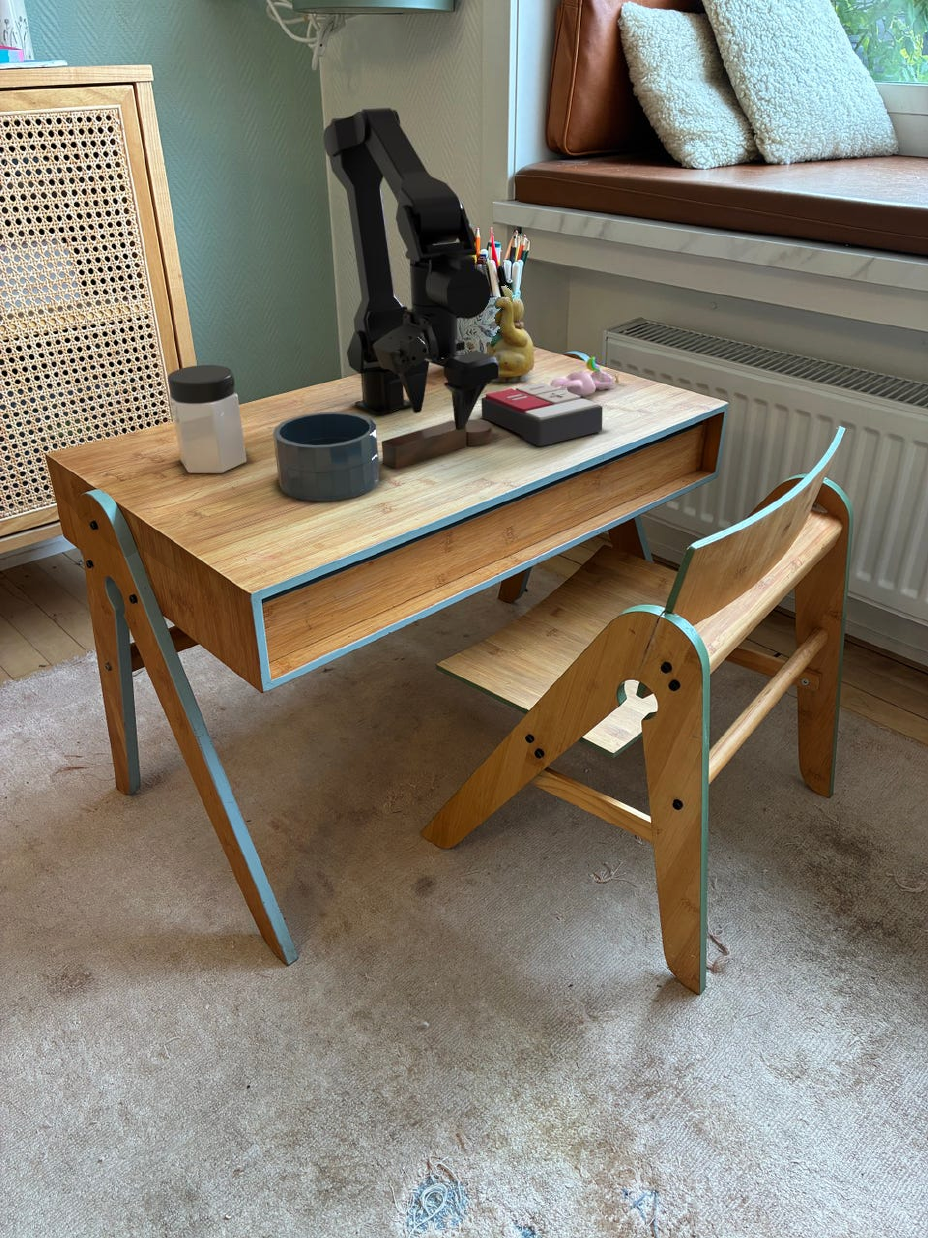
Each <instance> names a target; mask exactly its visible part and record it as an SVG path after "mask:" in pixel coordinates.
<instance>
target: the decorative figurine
mask: <svg viewBox="0 0 928 1238" xmlns="http://www.w3.org/2000/svg"><path fill="white" fill-rule="evenodd" d="M506 286H507V285H505V286H501V289H502V292H503V295H504V297H498V298H497V299H496V300H495V302H494V306H495V308H496V309H498V308H501V309H500V310H499V311H498V312H497V313H496V314H495V317H494V319H495V323H496V324H497V326H499V327H500V329H498V330H497V334H496V335H495V336H493V339H492V341H491V346H489V345H488V347H487V353H486V354H488V355H491V356H494V357H495V358H496V359H497V361H498V362H499V378H498V379H494V380H492V383H517V382H518V383H522V382H523V380H522V376H524V375H527V374H529V373H530V371H532V370H533V369H534V366H535V347H534V343H533V340H532V338H531V336H530V335H529V334H528V332H527V331H526V330H525V329H524V323H523V322H522V321H521V320H522V319H523V316H524V311H525V309H524V308H525V307H524V306H525V305H524V303H523V301H522V299H521V298H520V297H519V296H518V297H519V303H518V297H517V298H516V299H515V300H514V301H513V297H512V296H513V294H514V292H513V290H512V289H511V288H510V287H509V288H510V289H511V290H510V289H509V288H507V287H508V286H507V287H506ZM506 297H509V298H510V299H508V298H506Z"/></svg>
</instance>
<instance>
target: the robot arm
mask: <svg viewBox="0 0 928 1238" xmlns="http://www.w3.org/2000/svg"><path fill="white" fill-rule="evenodd" d="M323 146H324V150H325V153H326V155H327V156H328V158H329V163H330V168H331V171H332V173H333V174H334V176H335V177H336V178H337V180H338V181H339V183H340V184H341V185H342V187H343V188H344V189H345V191H346V196H347V202H348V203H347V204H348V211H349V219H350V225H351V231H352V232H351V233H352V239H353V246H354V254H355V261H356V267H357V275H358V282H359V288H360V296H361V299H360V303H359V305H358V308H357V310H356V312H355V315H354V317H353V328H354V330H353V334H352V337H351V339H350V342H349V344H348V348H347V350H346V355H347V361H348V367H350V368H351V369H352V370H354V371H355V372H356V373H357V374H359V375H360V379H361V380H360V381H361V392H362V393H361V394H362V399H360V400H357V401H355V402H354V406H355V407H357V408H359V409H362V410H364V411H366V412H369V413H371V414H373V415H376V416H382V415H385V414H389V413H392V412H396V411H400V410H403V409H407V408H410V407H411V409H412V413H414V414H418V413H421V412H422V409H423V406H424V405H423V404H424V401H425V395H426V394H425V393H426V387H427V380H428V373H429V367H430V364H433V365H436V366H438V367H442V368H443V375H444V378H445V379H446V381H447V382H443V385H444V387H445V388H446V389H447V390H448V391H449V392H450V394H451V396H452V397H451V398H452V408H453V421H455V426H456V430H462V429H464V428H465V426H466V423H467V421H468V420H470V417H471V415H472V413H473V410H474V408H475V406H476V404H477V402H478V400H479V398H480V396H481V394H482V393H483V391H484V390H485V388H486V386H487V385H489V384H492V383H493V380H494V379H498V378H499V362H498V361H497V359H496V358H495V357H494V356H491V355H488V354H485V352H481V351H479V350H474V351H470V352H465V353H462V354H458V352H460V351H464V350H465V349H466V347H465V345H466V344H465V341H464V340H461V339H458V338H459V336H458V333H459V332H458V319H464V320H470V319H474V318H477V317H478V316H480V315H481V314H483V311H484V310H485V308H486V307H487V305H488V303H489V300H490V296H491V295H492V286H491V285H490V282H489V279H488V278H487V276H486V275H485V273H484V272H482V270H480V269H478V268H476V257H475V256H477V254H478V251H477V246H476V242H477V238H476V235H475V233H474V230H473V228H472V225H471V223H470V220H469V217H468V216H467V213H466V210H465V207H464V204H463V203H462V202H461V200H460V198H459V196H458V195H457V194H456V192H455V191H454V190H453V189H452V188H451V187H450V186H449V184H448V183H447V182H445V181H442V180H441V179H437V178H436V177H433V176H432V175H431V174H430V172H428V170H427V168H426V166H425V164H424V163H423V161H422V159H421V158H420V156H419V155H418V153H417V151H416V150H415V148H414V146H413V144H412V143H411V141H410V139H409V138H408V136H407V134H406V133H405V131H404V129H403V128H402V126H401V120H400V115H399V113H398V111H397V110H396V109H392V108H391V107H380V108H379V107H378V108H362V109H361V110H360V111H357V112H355V113H354V114H352V115H350V116H347V117H333V118H332V119H331V120H330V123H329V125H328V126H326V127H325V128H324V130H323ZM383 179H384V180H385V181H386V183H387V185H388V186H389V189H390V190H391V193H392V194H393V197H395V200H396V202H397V207H396V214H395V222H396V224H397V225H396V226H397V230H398V233H399V235H400V237H401V239H402V241H403V243H404V245H405V248H406V249H407V250H406V252H405V254H404V255H405V258H406V259H407V260H409V277H410V278H409V279H410V300H411V303H410V304H411V308H408V307H407V306H406V305H405V306H403V305H402V303H401V302H400V301H399V299H398V298H397V297H396V294H395V289H394V281H393V274H392V273H393V272H392V267H391V258H390V251H389V243H388V234H387V228H386V221H385V220H386V219H385V212H384V204H383V197H382V189H381V184H382V182H383ZM457 240H458V241H457ZM456 241H457V242H456ZM405 394H406V396H407V399H408V400H406V399H405Z"/></svg>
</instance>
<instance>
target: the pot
mask: <svg viewBox="0 0 928 1238" xmlns="http://www.w3.org/2000/svg"><path fill="white" fill-rule="evenodd" d="M372 419H373V418H370V417H368V416H365V415H363V414H359V413H353V412H348V411H347V412H346V411H321V412H313V413H306V414H302V415H297V416H294V417H291V418H288V419H286V420H284V421H282V422H280V423H279V424H278V425H277V426H275V427H274V429H273V431H272V437H273V438H272V439H273V446H274V453H275V461H276V470H277V478H278V483H279V487H280V490H281V491H282V492H283V494H286V495H287V496H288V497H291V498H293V499H297V500H300V501H301V500H302V501H308V502H320V503H321V502H322V503H323V502H335V501H344V500H349V499H352V498H356V497H360V496H362V495H365V494H367V493H369V492H371V491H372V490H373V489H374V488H376V487H377V486H378V484H379V482H380V461H379V449H378V447H379V445H378V431H377V424H376V423H375V421H374V420H372Z"/></svg>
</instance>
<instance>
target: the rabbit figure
mask: <svg viewBox="0 0 928 1238" xmlns="http://www.w3.org/2000/svg"><path fill="white" fill-rule="evenodd" d="M595 359H596V357H595V356H591V357H589V358H588V359H587V361H586V364H585V365H586V368H587V369H588V370H589V371H591V374H589V373H587V372H586V371H583V370H576V371H573V372H571V373H570V374H568V375H567V376H565V377H556V378H554V379H552V381H551V382H550V384H549V385H550V386H553V387H556V388H558V389H559V390H564V391H565V390H566V391H567V392H570V393H573V394H576V395H578V396H580V398H581V397H583V398H585V397H586V396H589V395H591V394H593V393H595V391H596V389H599V390H603V389H604V390H609V389H611V388H612V387H613V386H614V383H615V385H616V386H618V385H620V380H619V373H618V374H617V375H616V374H615V373H614V374H613V375H610V374H609V373H607V370H605V371H602V370H601V369H600V366H599V365H598V364H596V361H595Z"/></svg>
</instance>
